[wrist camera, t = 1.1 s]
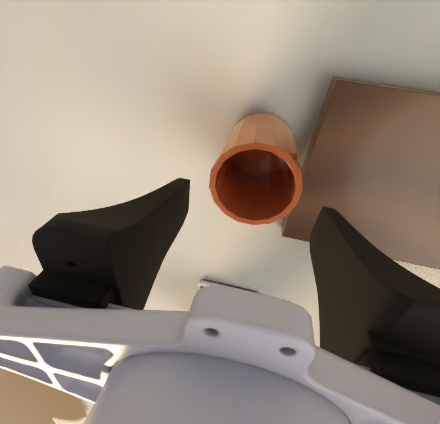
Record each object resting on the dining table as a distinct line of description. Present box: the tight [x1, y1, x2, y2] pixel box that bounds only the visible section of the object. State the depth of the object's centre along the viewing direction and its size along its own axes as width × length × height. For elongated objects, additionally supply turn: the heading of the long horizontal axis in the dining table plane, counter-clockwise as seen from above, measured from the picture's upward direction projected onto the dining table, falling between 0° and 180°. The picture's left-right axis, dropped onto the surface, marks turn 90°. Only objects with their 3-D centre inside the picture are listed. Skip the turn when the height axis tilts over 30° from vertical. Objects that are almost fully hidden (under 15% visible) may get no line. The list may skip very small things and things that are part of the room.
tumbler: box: [209, 113, 303, 225], centre depth 18 cm, size 6×6×8 cm
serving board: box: [282, 77, 440, 269], centre depth 20 cm, size 14×20×2 cm
